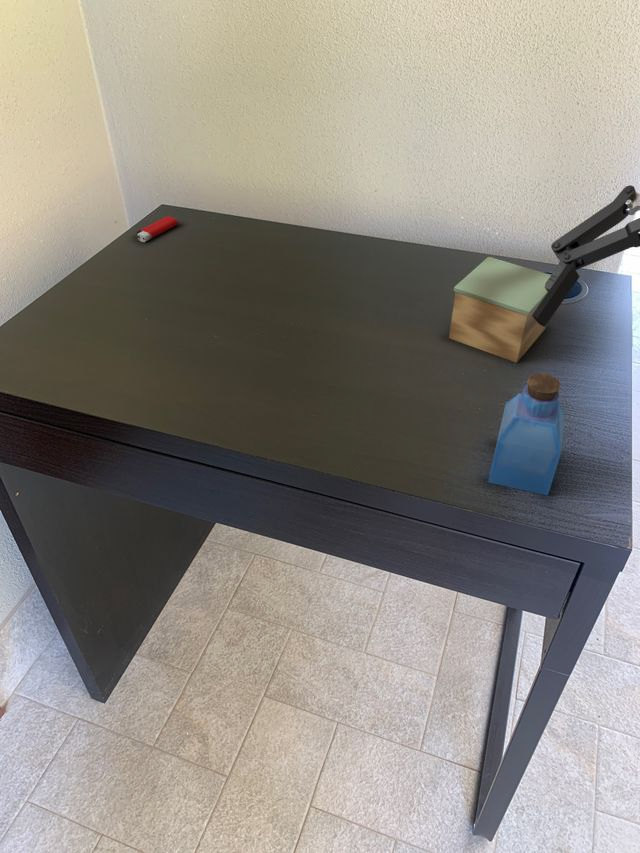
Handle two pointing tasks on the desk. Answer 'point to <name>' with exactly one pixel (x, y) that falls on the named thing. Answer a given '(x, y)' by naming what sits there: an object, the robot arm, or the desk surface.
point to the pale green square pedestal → (498, 308)
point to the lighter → (156, 228)
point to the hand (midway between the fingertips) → (591, 349)
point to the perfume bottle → (530, 437)
